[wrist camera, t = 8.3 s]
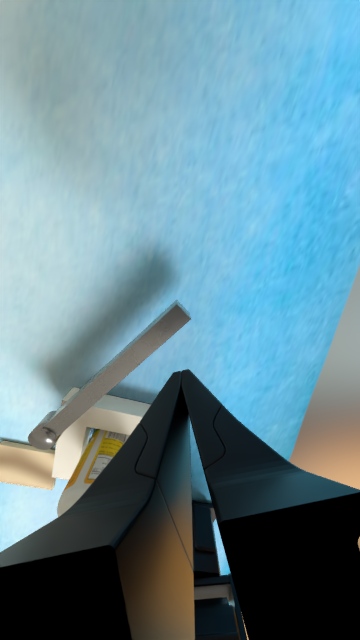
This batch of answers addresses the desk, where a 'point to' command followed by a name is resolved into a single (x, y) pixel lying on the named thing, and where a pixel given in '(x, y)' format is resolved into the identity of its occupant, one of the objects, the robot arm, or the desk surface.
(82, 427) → the socket housing
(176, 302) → the latch arm
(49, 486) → the coaster
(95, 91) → the desk surface
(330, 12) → the desk surface
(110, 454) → the supplement bottle
